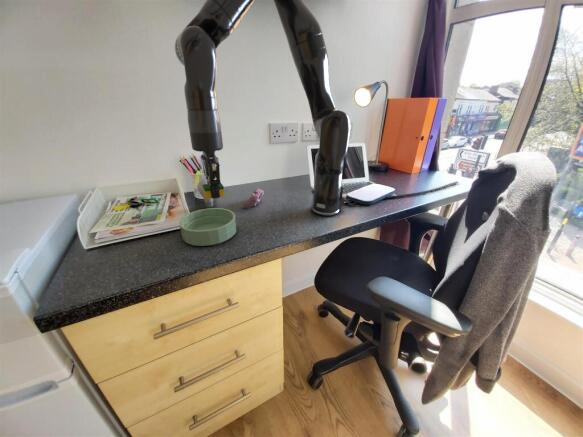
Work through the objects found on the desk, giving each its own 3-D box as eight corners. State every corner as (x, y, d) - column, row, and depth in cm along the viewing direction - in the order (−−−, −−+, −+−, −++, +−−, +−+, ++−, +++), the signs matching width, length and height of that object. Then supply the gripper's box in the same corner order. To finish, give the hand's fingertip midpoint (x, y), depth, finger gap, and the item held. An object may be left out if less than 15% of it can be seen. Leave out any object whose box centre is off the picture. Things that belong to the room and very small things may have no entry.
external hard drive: (373, 187, 110) (374, 182, 109) (397, 193, 102) (398, 188, 101) (342, 199, 96) (343, 194, 95) (367, 207, 88) (368, 202, 87)
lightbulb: (208, 212, 83) (203, 182, 78) (197, 208, 86) (192, 179, 81) (221, 206, 88) (218, 178, 83) (210, 203, 91) (206, 175, 86)
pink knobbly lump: (252, 213, 86) (259, 198, 83) (241, 207, 86) (248, 191, 83) (260, 203, 95) (267, 189, 92) (251, 197, 95) (257, 183, 92)
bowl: (230, 218, 79) (228, 204, 77) (242, 239, 67) (241, 224, 64) (180, 228, 73) (177, 213, 70) (184, 253, 60) (181, 236, 58)
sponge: (221, 192, 68) (220, 182, 67) (224, 196, 65) (223, 186, 64) (203, 194, 66) (202, 184, 65) (206, 199, 63) (204, 188, 62)
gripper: (227, 132, 54) (233, 201, 62) (215, 127, 66) (222, 186, 73) (192, 133, 51) (203, 206, 59) (186, 127, 63) (197, 189, 70)
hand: (214, 194), depth 66 cm, fingers closed on sponge, 4 cm apart
